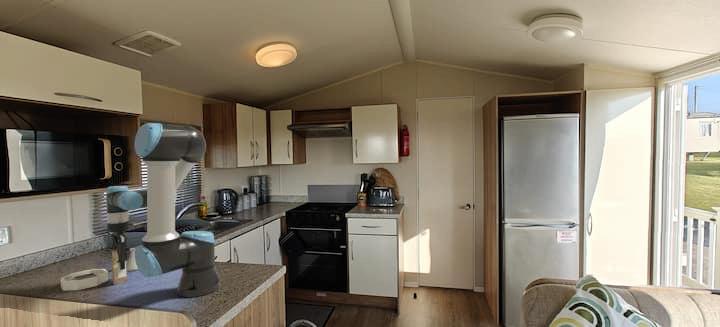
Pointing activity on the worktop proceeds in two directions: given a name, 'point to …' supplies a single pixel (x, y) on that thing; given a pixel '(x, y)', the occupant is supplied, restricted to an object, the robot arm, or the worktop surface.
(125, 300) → the worktop surface
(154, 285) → the worktop surface
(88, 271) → the white octagonal tray
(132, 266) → the flask
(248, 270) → the worktop surface
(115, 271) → the wooden block
